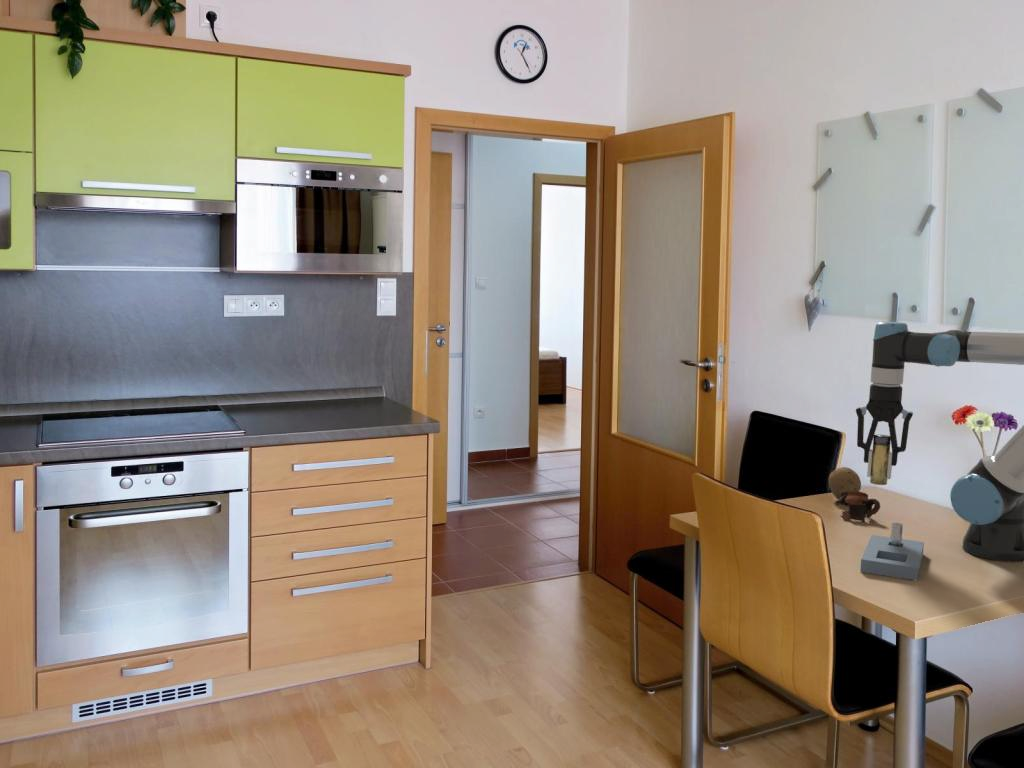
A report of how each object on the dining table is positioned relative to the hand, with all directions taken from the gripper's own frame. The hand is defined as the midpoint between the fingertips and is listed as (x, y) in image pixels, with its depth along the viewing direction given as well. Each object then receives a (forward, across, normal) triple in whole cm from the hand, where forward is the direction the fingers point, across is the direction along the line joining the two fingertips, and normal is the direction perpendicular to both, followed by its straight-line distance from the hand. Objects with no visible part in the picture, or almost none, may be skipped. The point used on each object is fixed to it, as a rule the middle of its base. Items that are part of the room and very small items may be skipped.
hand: (879, 476), depth 249 cm
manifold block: (+16, -6, +17) cm, 24 cm away
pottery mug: (+17, +6, -20) cm, 27 cm away
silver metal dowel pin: (+16, -6, +12) cm, 21 cm away
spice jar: (+2, 0, 0) cm, 2 cm away
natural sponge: (+17, +12, -37) cm, 42 cm away
